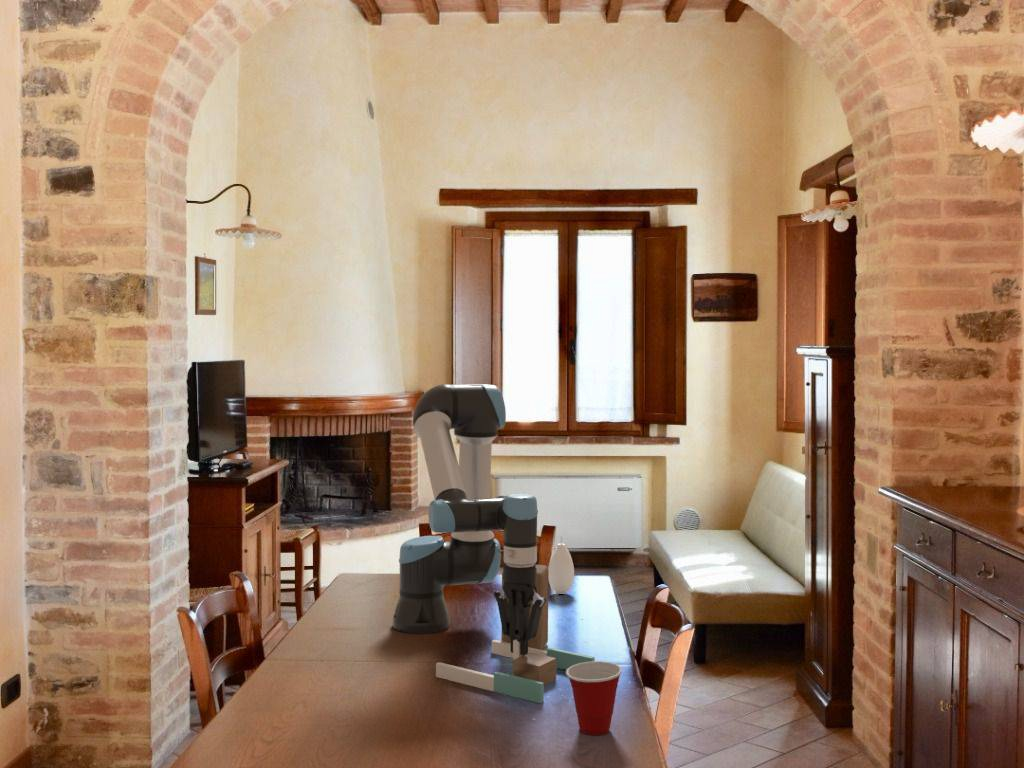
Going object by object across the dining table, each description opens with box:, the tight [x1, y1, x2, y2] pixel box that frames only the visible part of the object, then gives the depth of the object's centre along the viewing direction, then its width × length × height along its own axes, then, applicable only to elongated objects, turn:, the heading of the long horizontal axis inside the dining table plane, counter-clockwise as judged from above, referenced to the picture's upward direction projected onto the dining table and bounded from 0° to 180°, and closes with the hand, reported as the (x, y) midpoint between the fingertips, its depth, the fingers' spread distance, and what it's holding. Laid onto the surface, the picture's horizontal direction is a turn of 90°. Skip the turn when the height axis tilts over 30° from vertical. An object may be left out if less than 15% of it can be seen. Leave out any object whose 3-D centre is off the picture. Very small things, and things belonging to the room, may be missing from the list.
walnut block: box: [512, 653, 557, 686], centre depth 214 cm, size 7×7×5 cm
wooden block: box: [500, 564, 549, 650], centre depth 237 cm, size 10×10×20 cm
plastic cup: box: [565, 660, 623, 736], centre depth 186 cm, size 11×11×12 cm
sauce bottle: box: [548, 535, 575, 595], centre depth 291 cm, size 8×8×18 cm
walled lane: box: [435, 639, 596, 704], centre depth 217 cm, size 28×22×4 cm
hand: (519, 668), depth 216 cm, fingers closed
